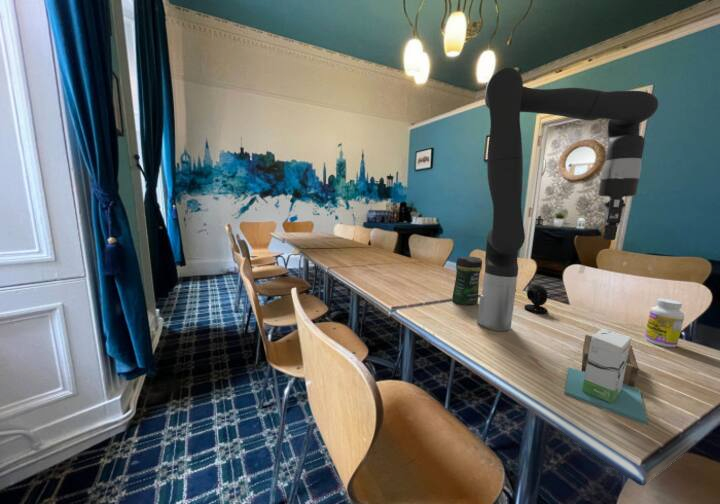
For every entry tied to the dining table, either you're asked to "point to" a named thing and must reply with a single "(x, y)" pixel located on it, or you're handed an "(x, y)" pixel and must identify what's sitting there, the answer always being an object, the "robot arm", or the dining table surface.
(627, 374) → the walnut case
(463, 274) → the coffee jar
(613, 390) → the ink box
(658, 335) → the supplement bottle
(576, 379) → the teal mat
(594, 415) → the dining table surface
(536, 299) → the webcam
